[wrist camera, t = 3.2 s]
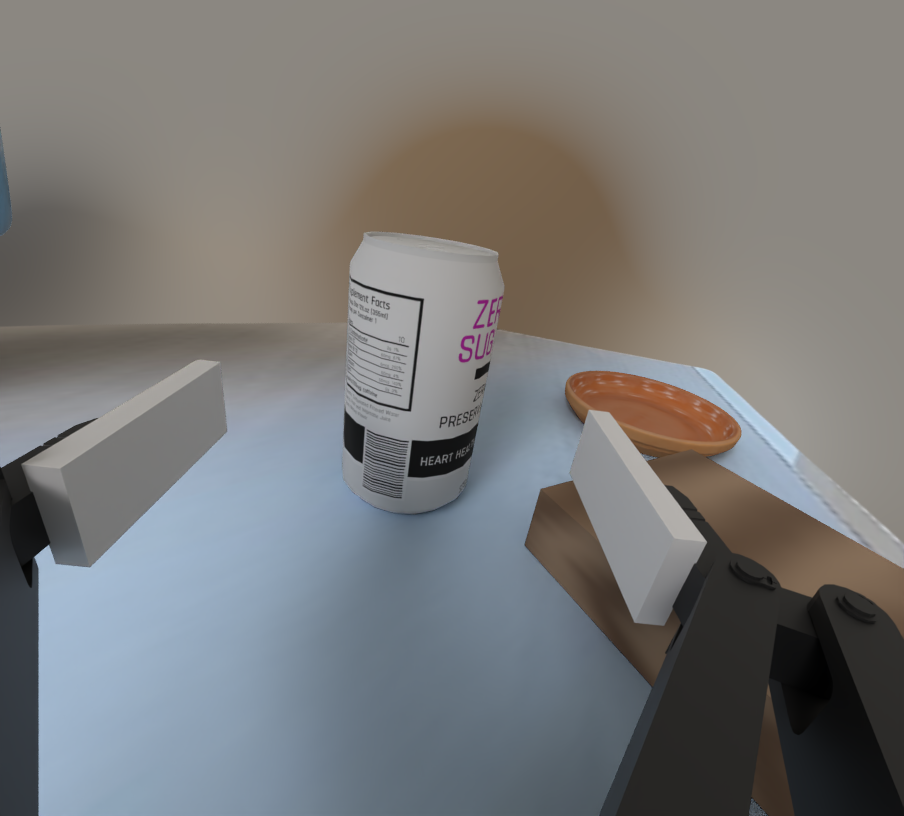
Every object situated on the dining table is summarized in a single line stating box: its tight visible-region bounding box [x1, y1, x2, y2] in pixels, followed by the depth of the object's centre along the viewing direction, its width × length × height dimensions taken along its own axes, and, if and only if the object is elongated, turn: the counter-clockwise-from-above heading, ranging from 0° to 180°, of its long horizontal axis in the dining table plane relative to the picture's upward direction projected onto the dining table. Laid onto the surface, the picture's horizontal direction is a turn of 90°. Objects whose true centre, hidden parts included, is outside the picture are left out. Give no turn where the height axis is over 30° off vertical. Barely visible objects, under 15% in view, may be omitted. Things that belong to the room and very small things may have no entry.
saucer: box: [565, 371, 741, 458], centre depth 42 cm, size 16×16×3 cm
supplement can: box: [342, 232, 504, 514], centre depth 25 cm, size 8×8×15 cm
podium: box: [525, 449, 904, 816], centre depth 22 cm, size 14×14×4 cm
